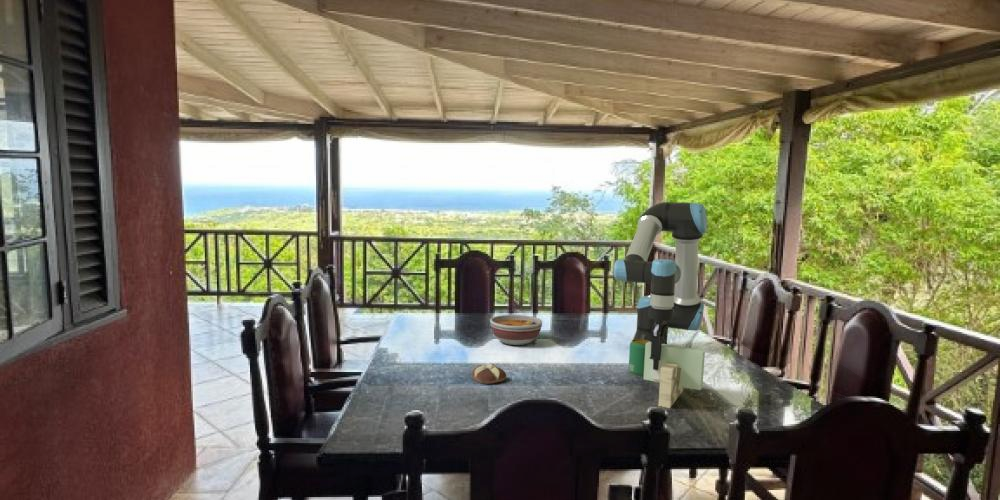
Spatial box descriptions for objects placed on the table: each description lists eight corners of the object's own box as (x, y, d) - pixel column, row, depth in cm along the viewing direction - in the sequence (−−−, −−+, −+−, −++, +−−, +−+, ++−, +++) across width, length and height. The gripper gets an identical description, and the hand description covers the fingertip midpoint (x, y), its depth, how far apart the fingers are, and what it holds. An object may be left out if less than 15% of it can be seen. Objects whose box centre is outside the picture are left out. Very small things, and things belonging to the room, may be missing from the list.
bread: (468, 376, 194) (468, 363, 193) (497, 373, 198) (498, 360, 198) (479, 387, 184) (479, 372, 183) (510, 383, 188) (510, 369, 188)
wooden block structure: (673, 387, 188) (675, 353, 187) (683, 389, 186) (685, 355, 185) (658, 405, 171) (660, 368, 169) (669, 408, 169) (672, 370, 168)
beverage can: (635, 368, 209) (637, 337, 207) (654, 373, 203) (656, 341, 202) (624, 372, 203) (625, 340, 202) (643, 377, 197) (645, 345, 196)
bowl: (550, 341, 244) (551, 319, 244) (525, 352, 225) (525, 328, 224) (507, 333, 257) (507, 312, 256) (479, 343, 237) (479, 320, 236)
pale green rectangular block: (643, 379, 181) (645, 343, 180) (646, 376, 184) (648, 341, 183) (700, 390, 172) (702, 352, 171) (702, 387, 175) (704, 350, 174)
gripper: (656, 301, 187) (652, 368, 189) (642, 309, 173) (638, 381, 175) (678, 304, 183) (674, 372, 185) (667, 312, 169) (662, 386, 171)
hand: (657, 376), depth 180 cm, fingers closed on pale green rectangular block, 3 cm apart
